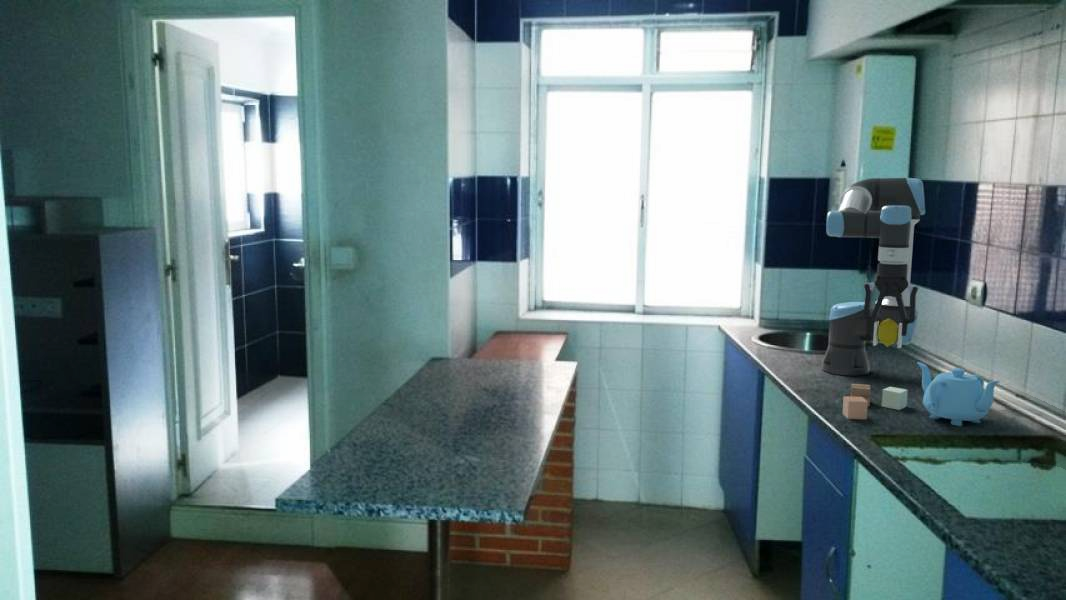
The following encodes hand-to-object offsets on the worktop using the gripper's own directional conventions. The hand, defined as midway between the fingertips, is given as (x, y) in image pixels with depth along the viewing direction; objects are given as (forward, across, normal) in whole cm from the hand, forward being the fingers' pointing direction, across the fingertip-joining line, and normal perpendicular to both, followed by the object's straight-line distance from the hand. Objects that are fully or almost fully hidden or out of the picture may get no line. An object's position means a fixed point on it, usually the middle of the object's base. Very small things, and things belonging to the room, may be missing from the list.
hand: (887, 345), depth 220 cm
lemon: (+1, 0, 0) cm, 1 cm away
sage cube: (+19, +2, +7) cm, 20 cm away
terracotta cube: (+19, -6, -9) cm, 22 cm away
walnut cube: (+19, -7, +6) cm, 21 cm away
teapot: (+19, +18, +2) cm, 26 cm away
